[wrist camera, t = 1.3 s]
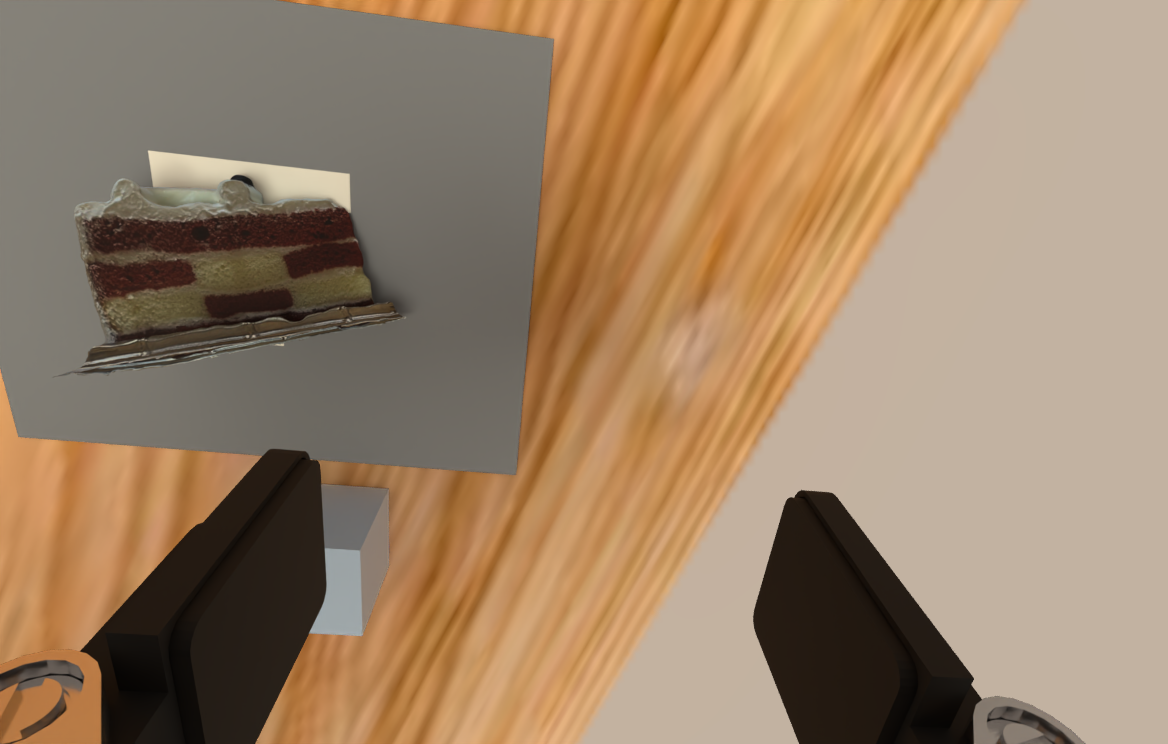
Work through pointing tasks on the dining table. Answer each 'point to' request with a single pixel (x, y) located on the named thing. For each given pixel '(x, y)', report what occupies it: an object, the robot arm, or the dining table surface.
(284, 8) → the letter mat
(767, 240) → the dining table surface
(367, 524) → the cube
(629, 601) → the dining table surface
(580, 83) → the dining table surface
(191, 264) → the chocolate cake
